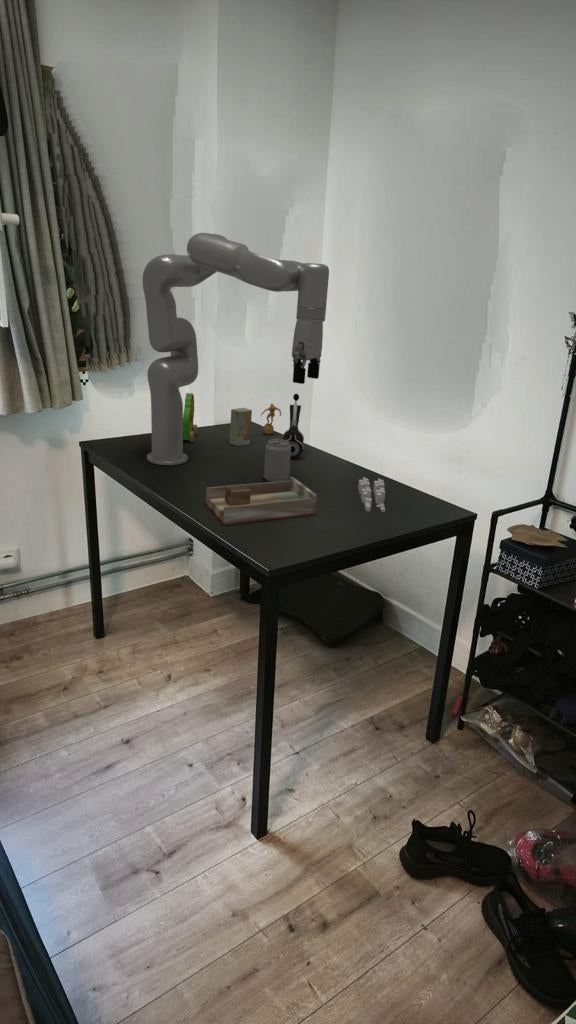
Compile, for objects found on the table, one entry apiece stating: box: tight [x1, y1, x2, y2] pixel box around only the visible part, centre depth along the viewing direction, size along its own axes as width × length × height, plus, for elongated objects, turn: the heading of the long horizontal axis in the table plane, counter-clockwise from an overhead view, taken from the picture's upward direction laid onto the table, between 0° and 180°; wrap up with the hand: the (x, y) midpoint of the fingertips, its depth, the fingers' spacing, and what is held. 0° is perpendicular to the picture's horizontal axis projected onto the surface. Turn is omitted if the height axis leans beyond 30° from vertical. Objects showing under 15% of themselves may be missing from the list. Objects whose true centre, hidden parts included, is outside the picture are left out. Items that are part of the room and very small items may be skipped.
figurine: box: [260, 403, 282, 435], centre depth 232 cm, size 8×6×12 cm
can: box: [263, 438, 291, 482], centre depth 186 cm, size 8×8×12 cm
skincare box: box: [229, 407, 253, 447], centre depth 218 cm, size 6×4×12 cm
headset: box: [281, 393, 305, 459], centre depth 210 cm, size 17×8×20 cm, turn 178°
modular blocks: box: [357, 476, 386, 513], centre depth 176 cm, size 20×7×4 cm, turn 0°
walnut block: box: [224, 483, 251, 506], centre depth 161 cm, size 5×5×4 cm
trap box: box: [205, 476, 318, 526], centre depth 165 cm, size 15×25×6 cm, turn 115°
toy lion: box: [183, 392, 198, 443], centre depth 222 cm, size 16×5×15 cm, turn 1°
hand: (305, 380), depth 170 cm, fingers open, 9 cm apart
